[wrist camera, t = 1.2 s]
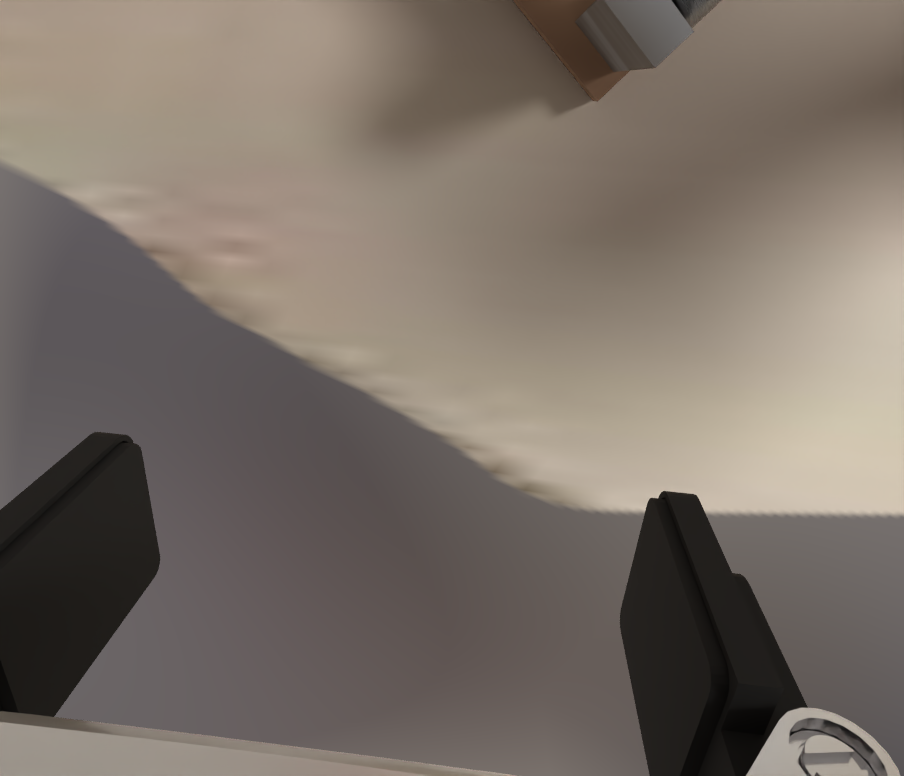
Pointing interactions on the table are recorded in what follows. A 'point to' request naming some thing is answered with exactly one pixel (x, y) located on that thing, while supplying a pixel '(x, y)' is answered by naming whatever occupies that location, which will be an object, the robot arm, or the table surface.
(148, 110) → the table surface
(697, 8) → the lever
